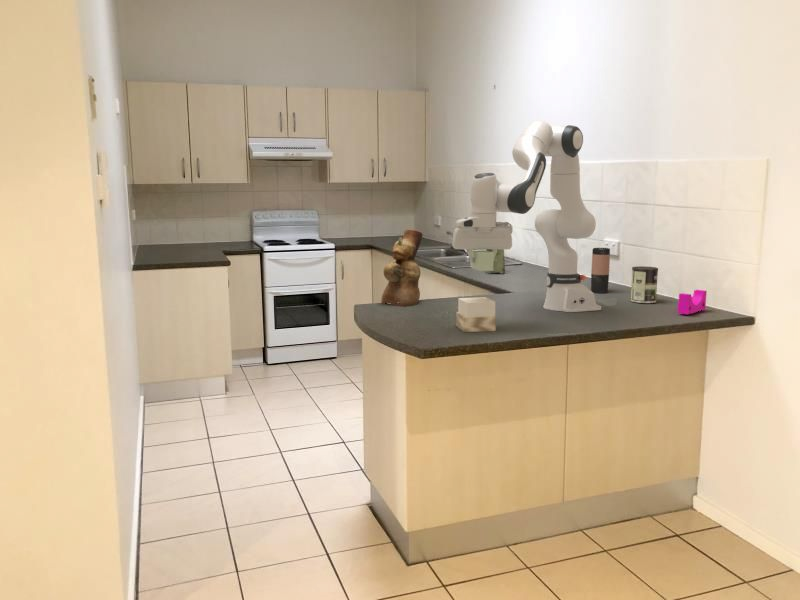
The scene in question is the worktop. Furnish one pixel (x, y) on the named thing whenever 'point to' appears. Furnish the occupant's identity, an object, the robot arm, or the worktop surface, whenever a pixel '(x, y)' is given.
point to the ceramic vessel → (403, 272)
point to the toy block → (692, 302)
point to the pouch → (498, 262)
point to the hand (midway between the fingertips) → (481, 262)
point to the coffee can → (644, 284)
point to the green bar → (482, 260)
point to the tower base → (475, 323)
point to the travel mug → (600, 270)
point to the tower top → (476, 307)
